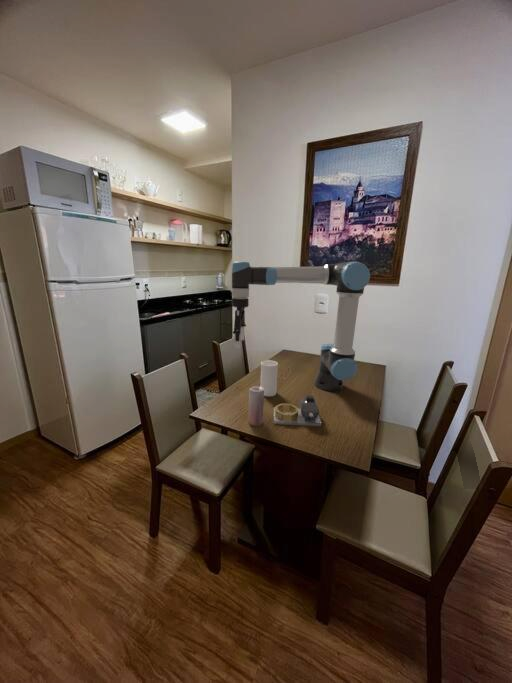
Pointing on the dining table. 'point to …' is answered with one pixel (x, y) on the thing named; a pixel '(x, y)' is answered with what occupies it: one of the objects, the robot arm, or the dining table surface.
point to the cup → (269, 377)
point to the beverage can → (256, 405)
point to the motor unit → (298, 413)
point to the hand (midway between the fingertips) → (239, 343)
